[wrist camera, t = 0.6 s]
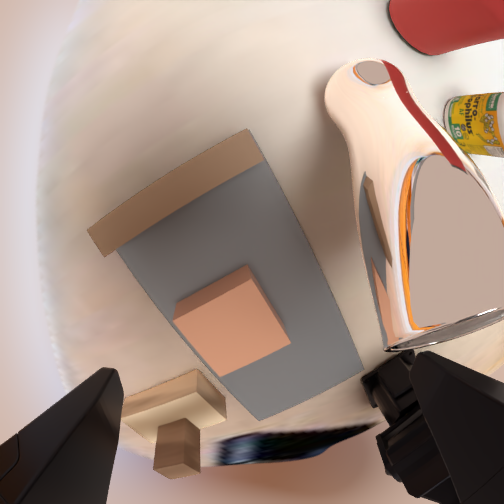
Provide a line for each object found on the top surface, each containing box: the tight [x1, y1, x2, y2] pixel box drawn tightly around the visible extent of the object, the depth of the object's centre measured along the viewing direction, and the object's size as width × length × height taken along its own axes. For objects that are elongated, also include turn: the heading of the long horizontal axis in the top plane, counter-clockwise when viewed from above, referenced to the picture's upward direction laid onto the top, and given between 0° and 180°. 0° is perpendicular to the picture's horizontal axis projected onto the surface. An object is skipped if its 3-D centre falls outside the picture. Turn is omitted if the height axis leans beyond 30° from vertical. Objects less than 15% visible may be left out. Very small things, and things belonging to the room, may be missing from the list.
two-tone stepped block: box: [121, 369, 227, 479], centre depth 21 cm, size 5×9×8 cm, turn 119°
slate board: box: [87, 129, 364, 421], centre depth 20 cm, size 24×12×3 cm, turn 29°
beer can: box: [389, 0, 504, 55], centre depth 10 cm, size 7×7×12 cm
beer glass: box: [324, 58, 504, 352], centre depth 12 cm, size 7×7×15 cm
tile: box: [173, 264, 291, 377], centre depth 20 cm, size 6×6×2 cm
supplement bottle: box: [444, 92, 504, 158], centre depth 14 cm, size 5×5×10 cm
